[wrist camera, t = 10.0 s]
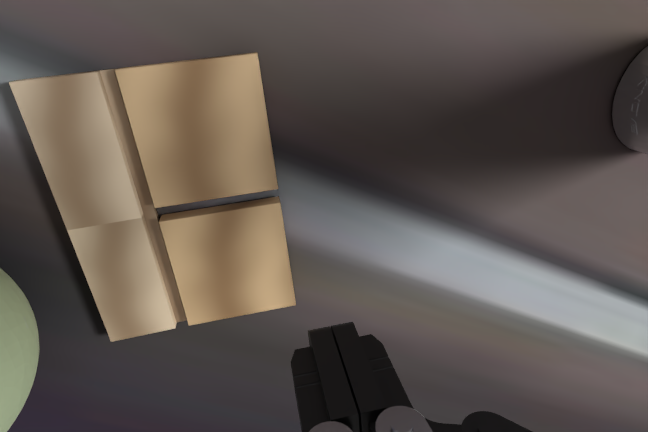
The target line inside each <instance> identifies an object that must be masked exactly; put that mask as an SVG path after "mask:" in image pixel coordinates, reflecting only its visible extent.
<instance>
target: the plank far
mask: <svg viewBox="0 0 648 432" xmlns="http://www.w3.org/2000/svg"><path fill="white" fill-rule="evenodd" d="M159 224H160V228H161V231H162V235H163V238H164V242H165V245H166V248H167V252H168V255H169V259H170V262H171V266H172V269H173V273H174V276H175V279H176V283H177V286H178V290H179V293H180V297H181V300H182V304H183V307H184V310H185V314H186V317H187V321H188V324H189V325H194V324H199V323H204V322H210V321H215V320H220V319H225V318H231V317H236V316H241V315H246V314H252V313H257V312H262V311H267V310H273V309H278V308H283V307H288V306H294V305H296V302H295V295H294V289H293V282H292V276H291V269H290V263H289V256H288V250H287V243H286V236H285V230H284V223H283V217H282V210H281V204H280V199H279V196H278V197H271V198H265V199H259V200H252V201H246V202H240V203H233V204H227V205H221V206H215V207H208V208H202V209H196V210H189V211H183V212H177V213H170V214H164V215H162V216H161V218H160V221H159Z"/></svg>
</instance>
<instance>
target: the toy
mask: <svg viewBox="0 0 648 432" xmlns="http://www.w3.org/2000/svg"><path fill="white" fill-rule="evenodd" d="M38 357H39V337H38V329H37V324H36V320H35V316H34V313H33V311H32V309H31V306H30V304H29V302H28V300H27V298H26V297H25V295H24V293H23V292H22V291H21V289H20V288H19V287H18V285H17V284H16V283H15V282H14V280H13V279H12V278H11V277H10V276H9V275H8V274H6V273H5V272H4V271H3V270H2V269H1V268H0V432H7V431H8V430H9V428H10V427H11V425H12V424H13V422H14V421H15V420H16V418H17V416H18V415H19V413H20V411H21V410H22V408H23V406H24V404H25V402H26V399H27V397H28V395H29V393H30V390H31V388H32V385H33V382H34V378H35V375H36V370H37V365H38Z"/></svg>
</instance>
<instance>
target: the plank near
mask: <svg viewBox="0 0 648 432" xmlns="http://www.w3.org/2000/svg"><path fill="white" fill-rule="evenodd" d="M115 73H116V76H117V80H118V83H119V87H120V90H121V93H122V97H123V100H124V104H125V107H126V111H127V114H128V118H129V121H130V124H131V128H132V131H133V135H134V138H135V142H136V145H137V149H138V152H139V155H140V159H141V162H142V166H143V169H144V173H145V176H146V180H147V183H148V186H149V190H150V193H151V197H152V200H153V204H154V207H155V208H159V207H166V206H172V205H178V204H185V203H191V202H198V201H204V200H211V199H217V198H223V197H230V196H236V195H243V194H249V193H256V192H262V191H268V190H275V189H278V184H277V178H276V171H275V165H274V158H273V152H272V145H271V138H270V132H269V125H268V119H267V112H266V106H265V99H264V93H263V86H262V80H261V73H260V67H259V60H258V53H257V52H255V53H246V54H237V55H229V56H220V57H211V58H203V59H194V60H185V61H176V62H168V63H159V64H150V65H142V66H133V67H124V68H119V69H116V70H115Z"/></svg>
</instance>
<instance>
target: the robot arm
mask: <svg viewBox="0 0 648 432" xmlns="http://www.w3.org/2000/svg"><path fill="white" fill-rule="evenodd" d="M612 119H613V127H614V129H615V132H616V135H617V137H618V138H619V139H620V141H621V142H622V143H623V144H624V145H625V146H627V147H628V148H630V149H633V150H636V151H639V152H642V153H645V154H648V46H647V47H646V48H644V49H643V50H642V51H641V52H640V53H639V54H638V55H637V57H636V58H635V59H634V60H633V61H632V62H631V64H630V65H629V67H628V68H627V70H626V72H625V73H624V75H623V76H622V79H621V81H620V83H619V85H618V88H617V90H616V94H615V98H614V101H613V110H612ZM308 337H309V345H310V347H306V348H301V349H296V350H295V352H294V354H293V357H292V360H291V368H292V374H293V381H294V387H295V394H296V400H297V406H298V412H299V418H300V424H301V430H302V432H532V431H530V430H528V429H526V428H524V427H522V426H520V425H518V424H516V423H514V422H512V421H510V420H508V419H506V418H504V417H502V416H500V415H498V414H495V413H492V412H486V411H479V412H474V413H472V414H470V415H468V416H467V417H466V418H465V419H464V420H463V423H462V425H457V424H443V423H437V422H433V421H430V420H428V419H426V418H424V417H423V416H422V415H421V414H420V413H419V412H418V411H416V410H415V409H414V408H413V407H412V405H411V403H410V401H409V399H408V397H407V395H406V393H405V390H404V388H403V386H402V384H401V382H400V380H399V378H398V376H397V374H396V372H395V369H394V368H393V365H392V363H391V361H390V359H389V358H388V355H387V353H386V350H385V348H384V346H383V344H382V343H381V342H380V341H379V340H377V339H376V338H375V337H374V336H373V335H371V334H370V335H365V336H360V337H359V335H358V333H357V331H356V328H355V326H354V323H353V322H349V323H343V324H338V325H333V326H331V328H330V327H324V328H318V329H313V330H308Z"/></svg>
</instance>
